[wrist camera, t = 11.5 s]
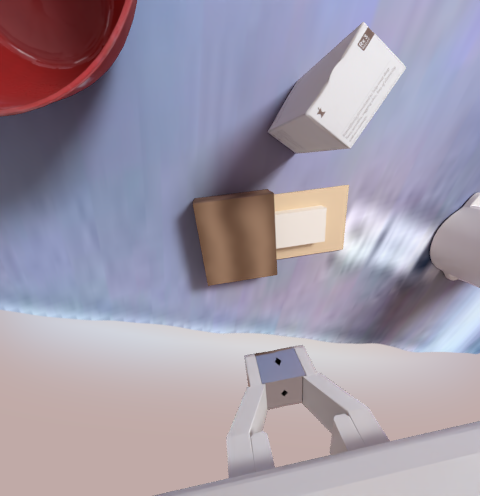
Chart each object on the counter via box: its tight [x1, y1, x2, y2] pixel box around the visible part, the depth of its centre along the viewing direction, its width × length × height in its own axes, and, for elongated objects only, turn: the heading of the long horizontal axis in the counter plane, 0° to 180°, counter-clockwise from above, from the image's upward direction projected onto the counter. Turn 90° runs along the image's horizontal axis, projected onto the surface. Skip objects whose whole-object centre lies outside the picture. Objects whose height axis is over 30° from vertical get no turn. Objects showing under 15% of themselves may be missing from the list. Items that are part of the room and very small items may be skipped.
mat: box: [274, 185, 349, 259], centre depth 40 cm, size 14×12×1 cm
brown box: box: [193, 189, 277, 286], centre depth 38 cm, size 12×14×4 cm
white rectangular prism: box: [275, 205, 327, 249], centre depth 39 cm, size 9×6×2 cm, turn 96°
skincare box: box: [268, 22, 406, 153], centre depth 27 cm, size 8×6×15 cm
